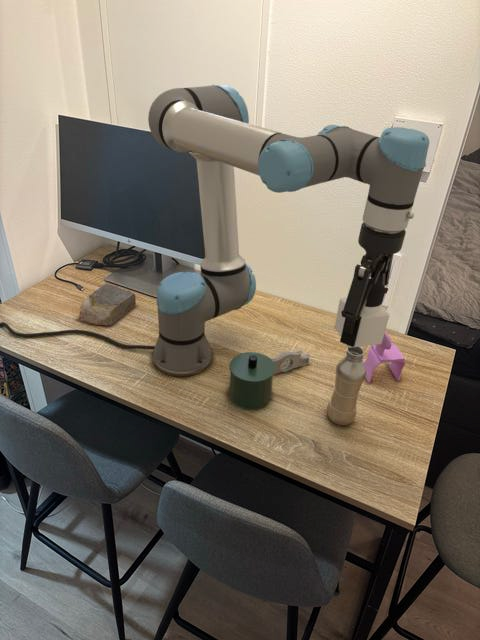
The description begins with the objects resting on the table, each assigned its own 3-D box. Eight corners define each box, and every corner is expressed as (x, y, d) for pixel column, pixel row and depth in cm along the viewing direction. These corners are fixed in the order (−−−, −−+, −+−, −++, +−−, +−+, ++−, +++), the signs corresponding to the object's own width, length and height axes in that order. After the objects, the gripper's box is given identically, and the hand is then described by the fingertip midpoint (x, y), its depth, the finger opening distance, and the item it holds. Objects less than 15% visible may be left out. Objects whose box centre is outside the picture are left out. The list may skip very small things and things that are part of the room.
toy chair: (402, 383, 125) (417, 336, 116) (370, 385, 123) (382, 337, 115) (390, 363, 132) (403, 317, 123) (359, 364, 130) (370, 318, 122)
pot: (230, 409, 114) (231, 381, 109) (228, 381, 122) (230, 354, 117) (272, 409, 115) (275, 381, 110) (268, 381, 123) (271, 354, 118)
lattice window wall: (306, 361, 130) (309, 343, 127) (309, 365, 129) (312, 347, 126) (267, 372, 126) (269, 354, 122) (270, 376, 124) (272, 358, 121)
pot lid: (229, 384, 109) (230, 372, 107) (228, 355, 118) (228, 343, 116) (277, 385, 110) (279, 372, 108) (272, 355, 119) (273, 343, 117)
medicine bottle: (365, 323, 100) (378, 272, 93) (381, 344, 94) (397, 292, 88) (333, 327, 98) (344, 275, 91) (348, 348, 93) (361, 295, 86)
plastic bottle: (338, 404, 117) (353, 337, 106) (359, 421, 113) (378, 353, 101) (319, 415, 114) (333, 347, 103) (340, 433, 109) (357, 364, 98)
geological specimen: (137, 290, 147) (107, 312, 135) (137, 307, 150) (108, 330, 138) (107, 281, 150) (75, 302, 138) (108, 298, 153) (77, 320, 141)
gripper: (381, 254, 74) (352, 367, 86) (425, 212, 89) (395, 313, 102) (336, 240, 77) (315, 351, 89) (386, 202, 92) (362, 301, 105)
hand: (358, 331), depth 96 cm, fingers closed on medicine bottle, 10 cm apart
